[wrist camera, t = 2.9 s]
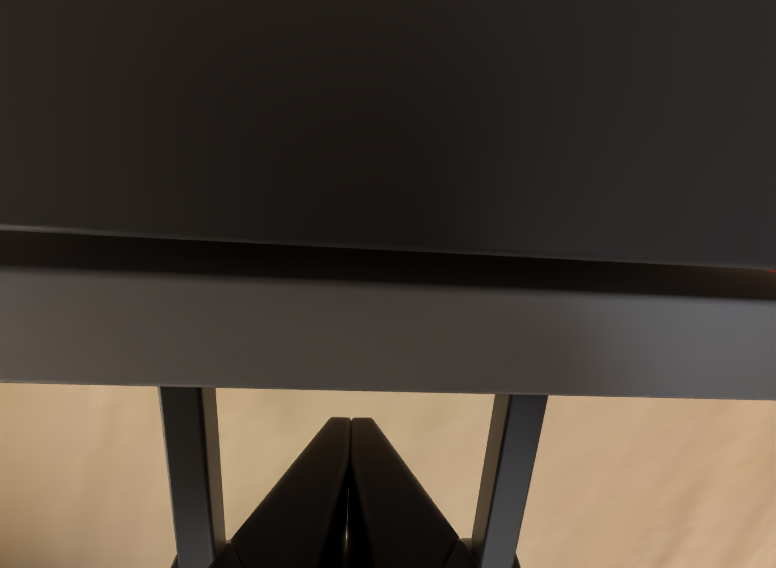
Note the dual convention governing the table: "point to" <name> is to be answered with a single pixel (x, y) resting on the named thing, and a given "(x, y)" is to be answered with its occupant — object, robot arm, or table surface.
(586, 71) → the dark brown storage box
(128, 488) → the table surface
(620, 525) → the table surface
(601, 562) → the table surface
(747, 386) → the pod drawer
